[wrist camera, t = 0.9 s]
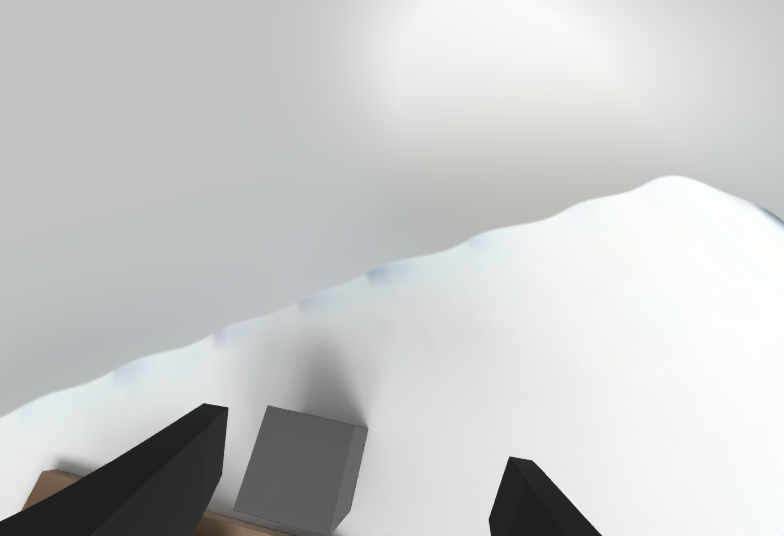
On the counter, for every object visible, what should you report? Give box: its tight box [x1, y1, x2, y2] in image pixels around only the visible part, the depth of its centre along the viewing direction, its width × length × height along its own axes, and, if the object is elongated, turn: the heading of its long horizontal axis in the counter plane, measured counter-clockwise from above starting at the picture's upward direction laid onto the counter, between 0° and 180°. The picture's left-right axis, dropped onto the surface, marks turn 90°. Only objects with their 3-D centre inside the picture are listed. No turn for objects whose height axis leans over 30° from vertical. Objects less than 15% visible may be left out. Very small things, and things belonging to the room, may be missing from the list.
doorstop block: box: [233, 406, 368, 536], centre depth 19 cm, size 4×4×6 cm
